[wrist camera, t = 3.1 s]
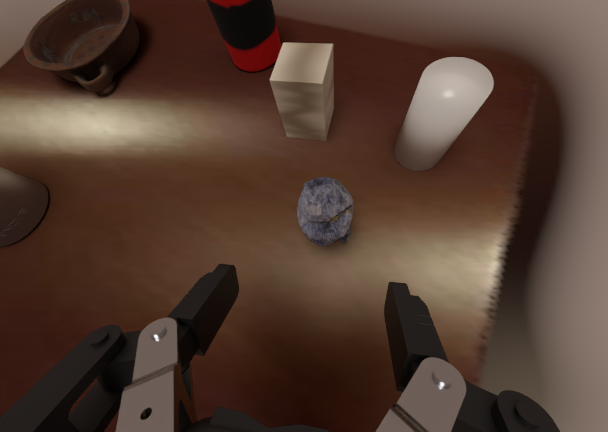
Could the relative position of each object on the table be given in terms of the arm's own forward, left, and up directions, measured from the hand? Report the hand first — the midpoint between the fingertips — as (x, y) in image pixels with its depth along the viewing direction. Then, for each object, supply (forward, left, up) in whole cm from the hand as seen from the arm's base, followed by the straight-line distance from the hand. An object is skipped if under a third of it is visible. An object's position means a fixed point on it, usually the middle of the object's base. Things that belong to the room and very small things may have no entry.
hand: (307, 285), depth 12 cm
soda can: (-26, +24, -11) cm, 37 cm away
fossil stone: (-3, +6, -11) cm, 13 cm away
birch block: (-12, +17, -11) cm, 23 cm away
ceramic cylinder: (+1, +19, -11) cm, 22 cm away
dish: (-52, +13, -11) cm, 55 cm away
